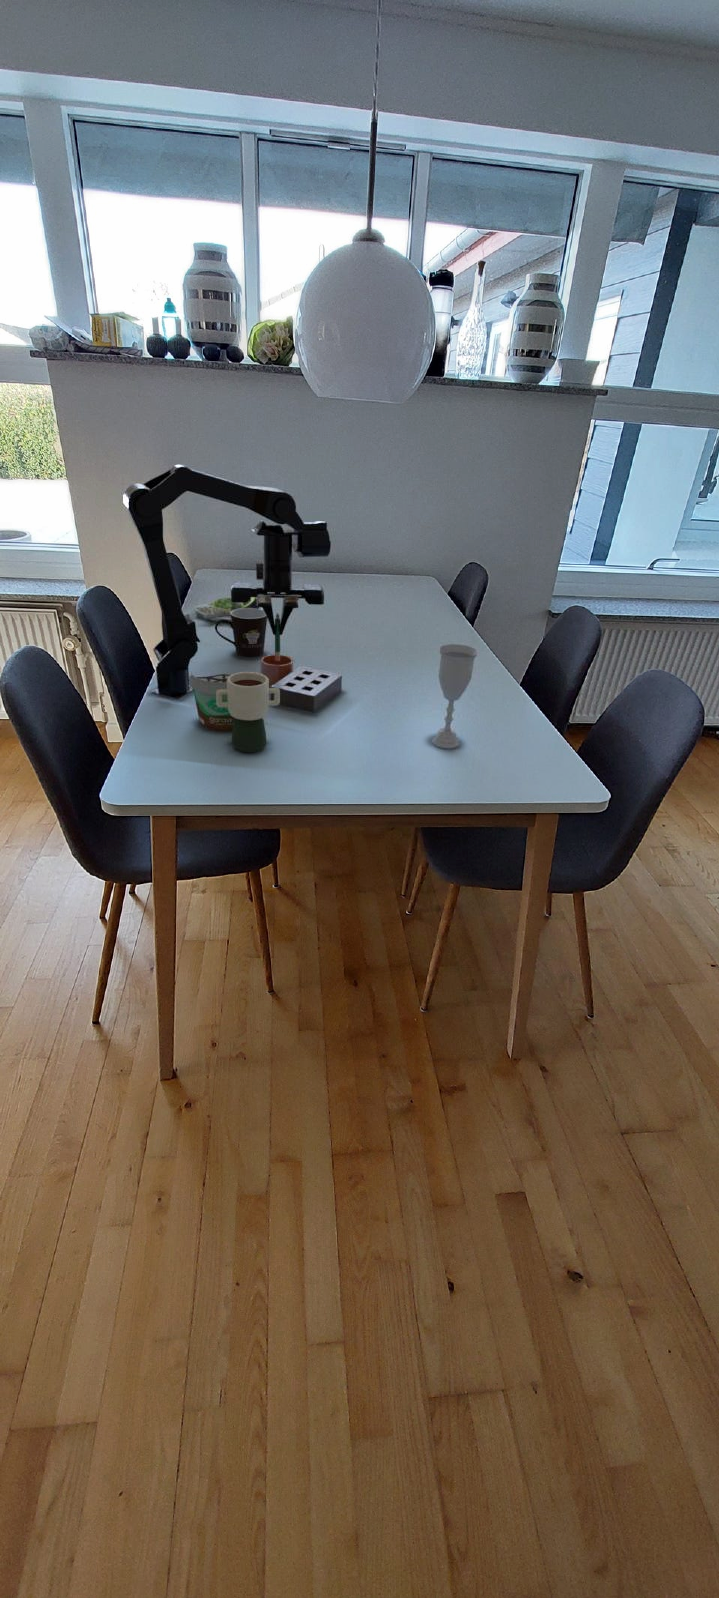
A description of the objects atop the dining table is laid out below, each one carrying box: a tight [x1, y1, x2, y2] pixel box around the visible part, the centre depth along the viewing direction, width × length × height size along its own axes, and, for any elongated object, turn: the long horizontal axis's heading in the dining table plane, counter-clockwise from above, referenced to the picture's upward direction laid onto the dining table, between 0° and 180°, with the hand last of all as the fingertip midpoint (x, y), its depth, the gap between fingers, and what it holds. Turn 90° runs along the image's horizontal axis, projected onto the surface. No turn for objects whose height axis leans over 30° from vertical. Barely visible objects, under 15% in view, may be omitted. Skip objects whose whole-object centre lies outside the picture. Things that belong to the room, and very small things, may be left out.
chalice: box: [432, 643, 479, 749], centre depth 126 cm, size 7×7×18 cm
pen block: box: [270, 665, 343, 714], centre depth 143 cm, size 10×14×4 cm
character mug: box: [216, 671, 280, 753], centre depth 120 cm, size 11×7×13 cm, turn 103°
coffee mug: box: [214, 608, 268, 658], centre depth 162 cm, size 12×9×10 cm
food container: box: [189, 670, 254, 733], centre depth 127 cm, size 12×6×10 cm, turn 105°
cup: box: [260, 654, 294, 687], centre depth 149 cm, size 7×7×5 cm
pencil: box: [274, 612, 281, 661], centre depth 145 cm, size 1×1×10 cm
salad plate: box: [194, 597, 263, 623], centre depth 189 cm, size 19×18×5 cm
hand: (277, 634), depth 145 cm, fingers closed on pencil, 1 cm apart
